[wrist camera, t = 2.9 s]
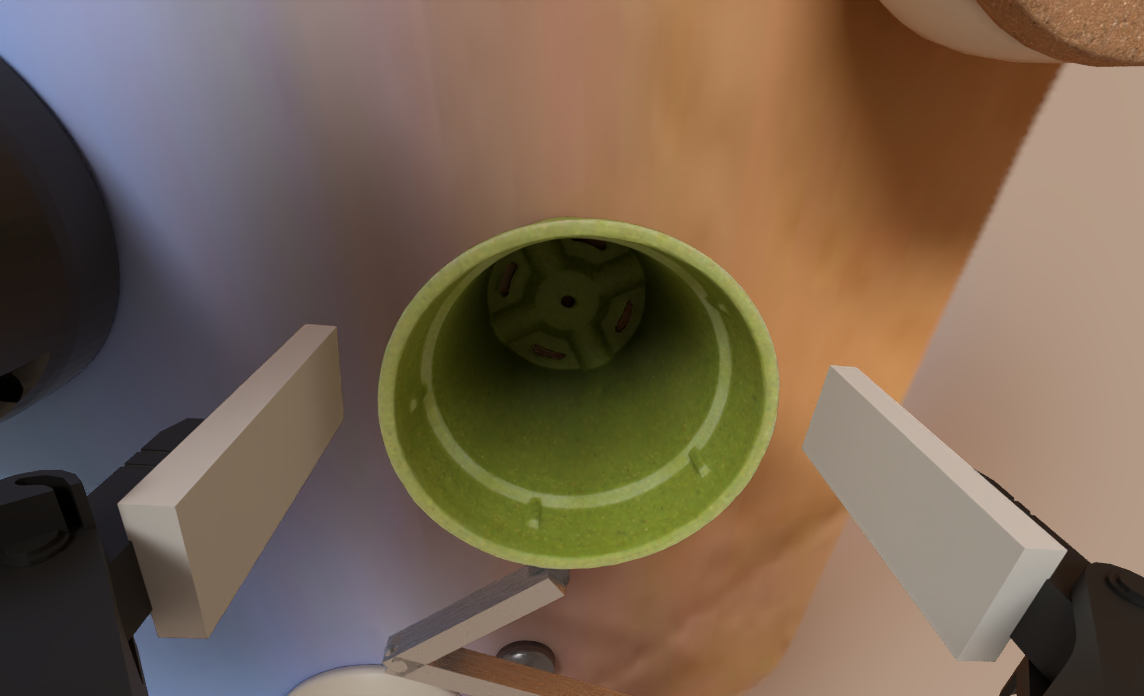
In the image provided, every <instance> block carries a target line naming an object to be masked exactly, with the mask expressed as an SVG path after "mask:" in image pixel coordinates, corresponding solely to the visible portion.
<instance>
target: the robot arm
mask: <svg viewBox="0 0 1144 696" xmlns="http://www.w3.org/2000/svg"><path fill="white" fill-rule="evenodd" d="M118 295H119V265H118V257H117V250H116V245H115V240H114V235H113V231H112V228H111V225H110V221H109V218H108V215H107V212H106V209H105V207H104V204H103V201H102V199H101V196H100V194H99V192H98V190H97V187H96V185H95V183H94V181H93V179H92V177H91V175H90V173H89V171H88V169H87V167H86V166H85V164H84V162H83V160H82V159H81V157H80V155H79V154H78V152H77V150H76V149H75V147H74V145H73V144H72V142H71V141H70V139H69V138H68V136H67V135H66V134H65V132H64V131H63V129H62V128H61V126H60V125H59V124H58V122H57V121H56V120H55V118H54V117H53V116H52V114H51V113H50V112H49V111H48V109H47V108H46V107H45V106H44V104H43V103H42V102H41V101H40V100H39V99H38V97H37V96H36V95H35V94H34V93H33V91H32V90H31V89H30V88H29V87H28V86H27V85H26V84H25V83H24V82H23V81H22V80H21V79H20V77H19V76H18V75H17V74H16V73H15V72H14V71H13V70H12V69H11V68H10V67H9V66H8V65H7V64H6V63H5V62H3V61H2V60H1V59H0V422H2V421H4V420H7V419H9V418H11V417H13V416H14V415H16V414H18V413H20V412H22V411H23V410H25V409H27V408H28V407H30V406H31V405H33V404H35V403H36V402H38V401H39V400H41V399H43V398H44V397H46V396H47V395H49V394H51V393H52V392H54V391H55V390H57V389H59V388H60V387H62V386H63V385H65V384H66V383H68V382H69V381H71V380H72V379H73V378H75V377H76V376H77V375H78V374H80V373H81V372H82V371H83V370H84V369H85V368H86V367H87V366H88V365H89V364H90V362H91V361H92V360H93V359H94V357H95V356H96V355H97V354H98V352H99V350H100V349H101V347H102V346H103V344H104V342H105V340H106V338H107V336H108V334H109V332H110V329H111V326H112V323H113V320H114V316H115V312H116V308H117V302H118ZM343 420H344V412H343V400H342V387H341V374H340V362H339V349H338V337H337V326H326V325H314V324H305V325H304V326H303V327H301V328H300V329H299V330H298V331H297V332H296V333H295V334H294V335H293V336H292V337H291V338H290V339H289V340H288V341H287V342H286V343H285V344H284V345H283V346H282V347H281V348H280V349H278V350H277V351H276V352H275V353H274V354H273V355H272V356H271V357H270V358H269V359H268V360H267V361H266V362H265V363H264V364H263V365H262V366H261V367H260V368H259V369H258V370H257V371H255V372H254V373H253V374H252V375H251V376H250V377H249V378H248V379H247V380H246V381H245V382H244V383H243V384H242V385H241V386H240V387H239V388H238V389H237V390H236V391H235V392H234V393H232V394H231V395H230V396H229V397H228V398H227V399H226V400H225V401H224V402H223V403H222V404H221V405H220V406H219V407H218V408H217V409H216V410H215V411H214V412H213V413H212V414H211V415H209V416H208V417H207V418H206V419H194V418H187V419H185V420H183V421H181V422H179V423H177V424H175V425H173V426H171V427H169V428H167V429H165V430H163V431H161V432H160V433H159V434H158V435H156V436H155V437H154V438H153V439H152V440H151V441H150V442H149V443H147V444H146V445H145V446H144V447H143V448H142V449H141V452H140V453H139V452H137V453H136V454H135V455H134V456H133V457H131V458H130V459H129V460H128V461H127V462H126V463H125V466H124V467H120V468H119V469H118V470H117V471H115V472H114V473H113V474H112V475H111V476H110V477H109V478H107V479H106V480H105V481H104V482H103V483H102V484H101V485H99V486H98V487H97V488H96V489H95V490H94V491H93V492H92V493H90V494H89V495H88V496H86V493H85V490H84V487H83V484H82V482H81V480H80V479H79V478H78V477H77V476H76V474H73V473H69V472H66V471H62V470H39V471H34V472H28V473H23V474H18V475H14V476H11V477H8V478H5V479H2V480H0V696H148V691H147V687H146V683H145V678H144V674H143V670H142V666H141V661H140V657H139V653H138V649H137V645H136V642H135V639H134V636H133V635H134V633H135V632H136V631H137V629H138V628H139V627H140V625H141V624H142V623H143V622H144V620H145V619H146V618H147V616H148V615H149V614H150V612H151V615H152V619H153V622H154V625H155V628H156V632H157V635H158V637H164V638H199V639H208V638H209V636H210V635H211V633H212V632H213V630H214V628H215V627H216V625H217V624H218V622H219V620H220V619H221V617H222V615H223V614H224V612H225V611H226V609H227V607H228V606H229V604H230V603H231V601H232V599H233V598H234V596H235V594H236V593H237V591H238V590H239V588H240V586H241V585H242V583H243V581H244V580H245V578H246V577H247V575H248V573H249V572H250V570H251V569H252V567H253V565H254V564H255V562H256V560H257V559H258V557H259V556H260V554H261V552H262V551H263V549H264V548H265V546H266V544H267V543H268V541H269V539H270V538H271V536H272V535H273V533H274V531H275V530H276V528H277V526H278V525H279V523H280V522H281V520H282V518H283V517H284V515H285V514H286V512H287V510H288V509H289V507H290V505H291V504H292V502H293V501H294V499H295V497H296V496H297V494H298V492H299V491H300V489H301V488H302V486H303V484H304V483H305V481H306V480H307V478H308V476H309V475H310V473H311V471H312V470H313V468H314V467H315V465H316V463H317V462H318V460H319V459H320V457H321V455H322V454H323V452H324V450H325V449H326V447H327V446H328V444H329V442H330V441H331V439H332V437H333V436H334V434H335V433H336V431H337V429H338V428H339V426H340V425H341V423H342V421H343ZM802 449H803V451H804V452H805V454H806V455H807V456H808V458H809V459H810V460H811V462H812V463H813V465H814V466H815V467H816V469H817V470H818V471H819V473H820V474H821V475H822V477H823V478H824V480H825V481H826V482H827V484H828V485H829V486H830V488H831V489H832V490H833V492H834V493H835V495H836V496H837V497H838V499H839V500H840V501H841V503H842V504H843V505H844V507H845V508H846V510H847V511H848V512H849V514H850V515H851V516H852V518H853V519H854V520H855V522H856V523H857V525H858V526H859V527H860V529H861V530H862V531H863V533H864V534H865V536H866V537H867V538H868V540H869V541H870V542H871V544H872V545H873V546H874V548H875V549H876V551H877V552H878V553H879V555H880V556H881V557H882V559H883V560H884V562H885V563H886V564H887V566H888V567H889V568H890V570H891V571H892V572H893V574H894V575H895V577H896V578H897V579H898V581H899V582H900V583H901V585H902V586H903V587H904V589H905V590H906V591H907V593H908V594H909V596H910V597H911V598H912V600H913V601H914V603H915V604H916V605H917V606H918V608H919V609H920V611H921V612H922V613H923V615H924V616H925V617H926V619H927V620H928V622H929V623H930V624H931V626H932V627H933V628H934V630H935V631H936V632H937V634H938V635H939V636H940V638H941V639H942V641H943V642H944V644H945V645H946V646H947V648H948V649H949V650H950V652H951V653H952V654H953V656H954V657H955V659H956V660H957V661H958V660H959V661H992V662H995V661H996V660H997V658H998V657H999V655H1000V654H1001V652H1002V651H1003V649H1004V648H1005V646H1006V644H1007V643H1008V641H1009V640H1010V638H1011V639H1012V640H1013V641H1014V642H1015V643H1016V645H1017V646H1018V647H1019V648H1020V649H1021V650H1022V651H1023V653H1024V654H1025V657H1024V658H1023V660H1022V661H1021V662H1020V664H1019V665H1018V667H1017V668H1016V670H1015V671H1014V673H1013V674H1012V676H1011V677H1010V679H1009V680H1008V681H1007V683H1006V684H1005V686H1004V687H1003V689H1002V690H1001V693H1000V695H999V696H1010V695H1013V694H1017V696H1144V577H1142V576H1140V575H1138V574H1135V573H1134V572H1132V571H1130V570H1127V569H1124V568H1121V567H1118V566H1115V565H1112V564H1106V563H1098V562H1095V563H1092V564H1091V563H1090V562H1089V561H1087V560H1086V559H1085V558H1084V557H1083V556H1082V555H1080V554H1079V553H1078V552H1077V551H1076V550H1075V549H1073V548H1072V547H1071V546H1070V545H1069V544H1068V543H1066V542H1065V541H1064V540H1063V539H1061V537H1059V536H1058V535H1057V534H1056V533H1055V532H1054V531H1052V530H1051V529H1050V528H1049V527H1048V526H1047V525H1045V524H1044V523H1043V522H1042V521H1040V520H1039V519H1038V518H1037V517H1036V516H1034V515H1031V514H1030V511H1029V510H1028V509H1026V508H1025V507H1024V506H1023V505H1022V504H1021V503H1020V502H1018V501H1014V497H1012V496H1011V495H1010V494H1009V493H1008V492H1007V491H1006V490H1004V489H1003V488H1002V487H1001V486H1000V485H998V484H997V483H996V482H995V481H994V480H992V479H990V478H989V477H987V476H985V475H984V474H982V473H980V472H978V471H977V470H975V469H973V468H972V467H971V466H970V465H969V464H967V463H966V462H965V461H964V460H963V459H962V458H961V457H959V456H958V455H957V454H956V453H955V452H954V451H952V450H951V449H950V448H949V447H948V446H947V445H946V444H944V443H943V442H942V441H941V440H940V439H939V438H937V437H936V436H935V435H934V434H933V433H932V432H930V431H929V430H928V429H927V428H926V427H925V426H924V425H922V424H921V423H920V422H919V421H918V420H917V419H915V418H914V417H913V416H912V415H911V414H910V413H909V412H907V411H906V410H905V409H904V408H903V407H902V406H901V405H899V404H898V403H897V402H896V401H895V400H894V399H893V398H891V397H890V396H889V395H888V394H887V393H886V392H884V391H883V390H882V389H881V388H880V387H879V386H878V385H876V384H875V383H874V382H873V381H872V380H871V379H869V378H868V377H867V376H866V375H865V374H864V373H863V372H861V371H860V370H859V369H858V368H857V367H846V366H833V365H830V367H829V370H828V373H827V376H826V379H825V382H824V385H823V388H822V391H821V394H820V396H819V399H818V402H817V405H816V408H815V411H814V414H813V417H812V420H811V423H810V426H809V428H808V431H807V434H806V437H805V440H804V443H803V446H802Z"/></svg>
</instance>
